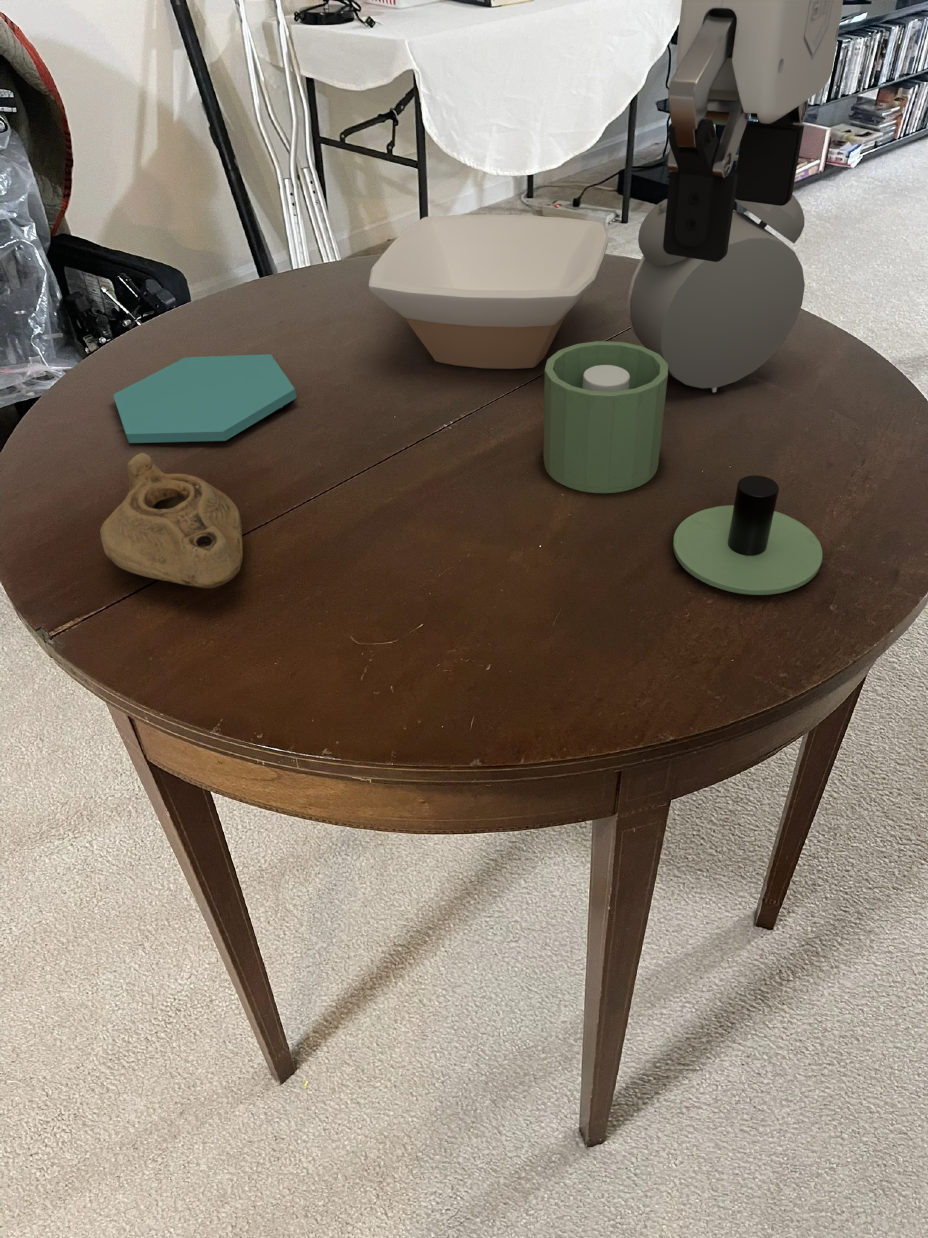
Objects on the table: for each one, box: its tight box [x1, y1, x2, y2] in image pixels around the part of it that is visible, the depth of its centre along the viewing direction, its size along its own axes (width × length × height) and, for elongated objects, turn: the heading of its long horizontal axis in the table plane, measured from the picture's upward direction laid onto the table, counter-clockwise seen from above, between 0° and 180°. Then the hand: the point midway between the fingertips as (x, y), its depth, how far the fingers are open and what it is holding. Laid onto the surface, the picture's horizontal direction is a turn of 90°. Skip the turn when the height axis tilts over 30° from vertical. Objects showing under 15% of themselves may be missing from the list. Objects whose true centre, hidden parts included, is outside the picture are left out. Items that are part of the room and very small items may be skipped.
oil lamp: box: [99, 452, 244, 589], centre depth 74 cm, size 11×15×8 cm
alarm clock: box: [627, 154, 806, 393], centre depth 90 cm, size 16×9×22 cm, turn 108°
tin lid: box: [672, 474, 824, 596], centre depth 72 cm, size 11×11×7 cm
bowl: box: [368, 214, 610, 370], centre depth 103 cm, size 24×25×11 cm
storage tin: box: [542, 340, 669, 494], centre depth 83 cm, size 10×10×10 cm
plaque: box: [112, 353, 298, 444], centre depth 98 cm, size 17×2×20 cm
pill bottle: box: [582, 365, 630, 392], centre depth 83 cm, size 5×5×8 cm
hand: (729, 226), depth 50 cm, fingers open, 9 cm apart
